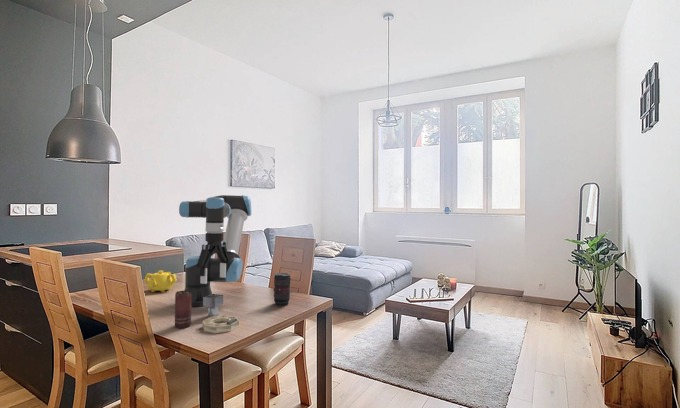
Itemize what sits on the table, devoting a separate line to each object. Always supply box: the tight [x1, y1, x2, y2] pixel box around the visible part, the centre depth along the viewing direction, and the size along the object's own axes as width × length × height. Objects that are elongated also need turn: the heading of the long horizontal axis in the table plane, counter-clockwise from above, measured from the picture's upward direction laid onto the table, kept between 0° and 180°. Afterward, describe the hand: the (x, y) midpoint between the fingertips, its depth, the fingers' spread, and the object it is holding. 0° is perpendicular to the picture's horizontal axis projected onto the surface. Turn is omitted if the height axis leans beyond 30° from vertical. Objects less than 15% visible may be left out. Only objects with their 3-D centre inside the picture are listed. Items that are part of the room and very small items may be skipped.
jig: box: [201, 314, 240, 334], centre depth 147 cm, size 13×13×3 cm
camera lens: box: [273, 272, 292, 307], centre depth 181 cm, size 8×8×15 cm
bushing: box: [202, 293, 224, 318], centre depth 160 cm, size 6×6×9 cm
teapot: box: [143, 270, 178, 294], centre depth 201 cm, size 20×18×11 cm
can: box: [174, 290, 192, 329], centre depth 147 cm, size 6×6×14 cm
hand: (213, 280), depth 160 cm, fingers open, 13 cm apart
